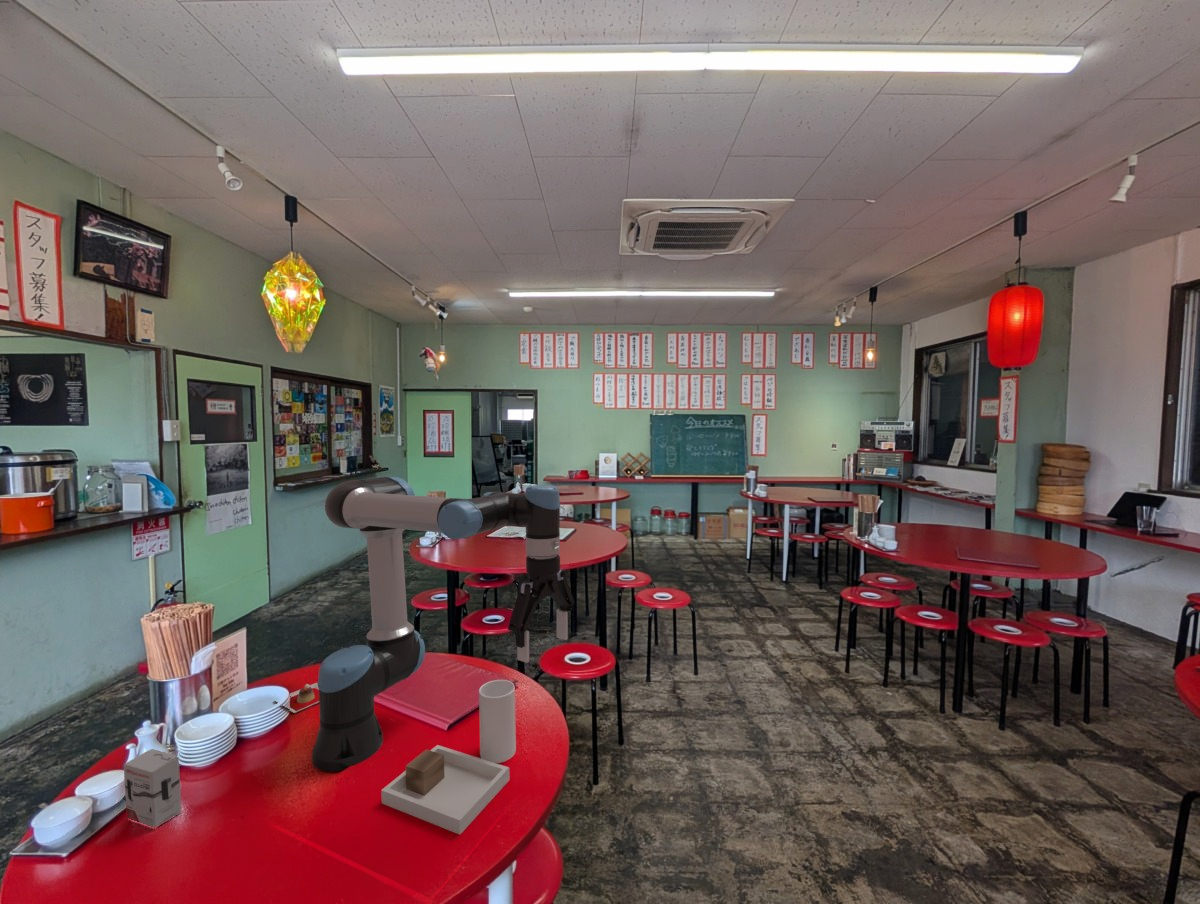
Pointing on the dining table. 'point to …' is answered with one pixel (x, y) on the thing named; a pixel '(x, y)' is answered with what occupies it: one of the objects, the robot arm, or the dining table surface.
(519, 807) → the dining table surface
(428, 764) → the walnut block
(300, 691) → the dessert
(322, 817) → the dining table surface
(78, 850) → the dining table surface
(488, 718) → the cup
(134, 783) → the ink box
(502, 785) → the tray
